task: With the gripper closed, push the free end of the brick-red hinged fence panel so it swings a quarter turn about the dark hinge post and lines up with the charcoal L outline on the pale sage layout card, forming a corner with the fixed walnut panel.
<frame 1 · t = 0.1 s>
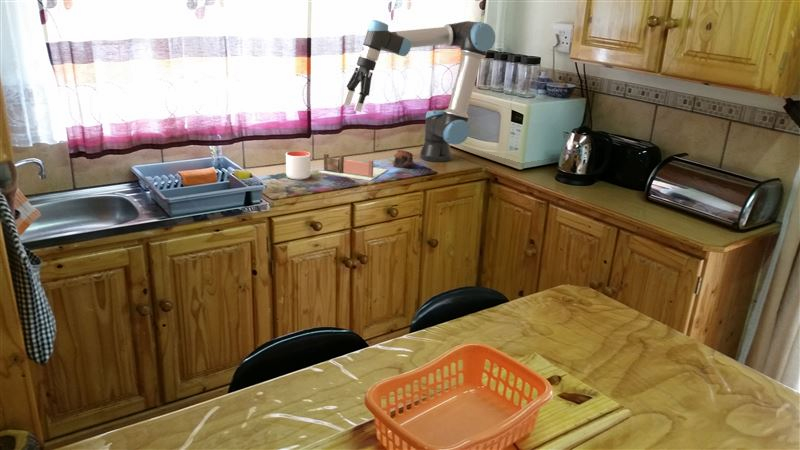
hand: (351, 108, 267), 28 cm above the kitchen counter, tool tilted 20°, fingers open, 13 cm apart
brown rock: (403, 166, 291), on the kitchen counter
cup: (298, 177, 266), on the kitchen counter
fence panel: (358, 166, 270), point 4 cm above the kitchen counter, hinge at 0.0°
layout card: (353, 171, 278), on the kitchen counter
fence fixed: (341, 173, 274), resting on layout card
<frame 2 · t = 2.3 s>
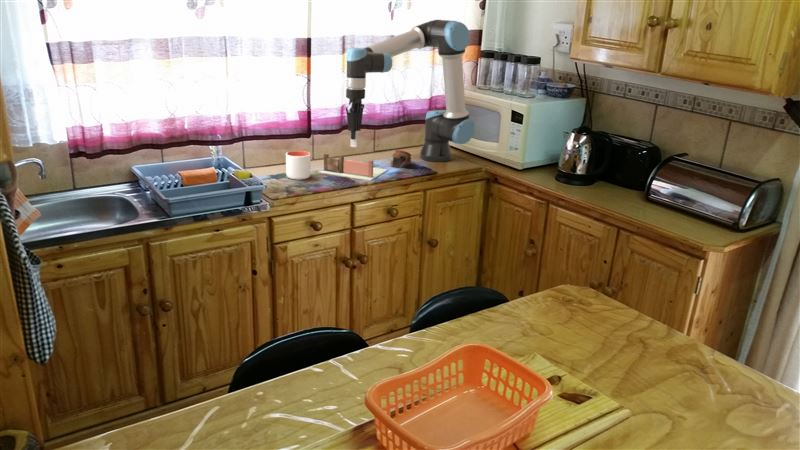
hand: (354, 146, 261), 14 cm above the kitchen counter, tool pointing down, fingers closed
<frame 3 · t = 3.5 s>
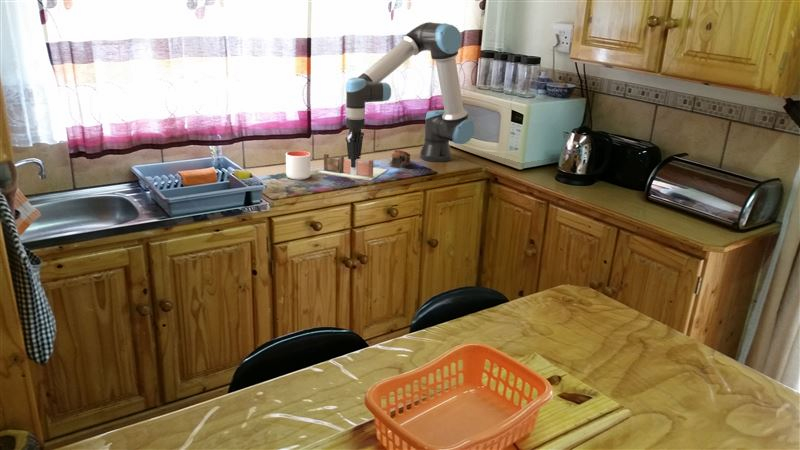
hand: (354, 174, 265), 2 cm above the kitchen counter, tool pointing down, fingers closed
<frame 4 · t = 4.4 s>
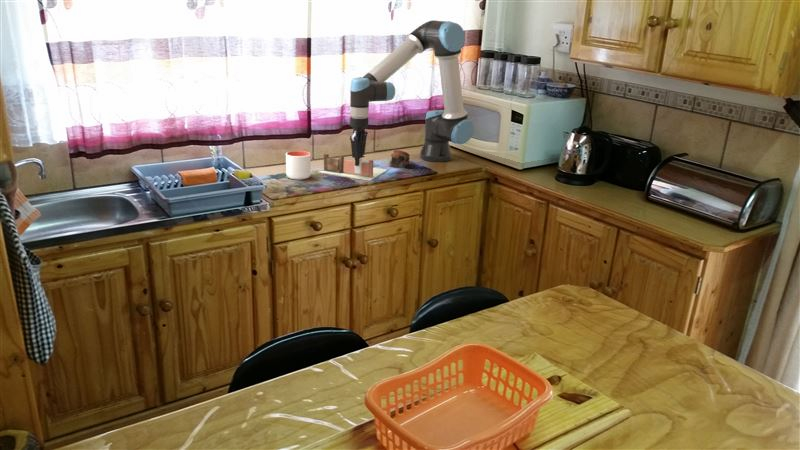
hand: (358, 172, 268), 2 cm above the kitchen counter, tool pointing down, fingers closed
fence panel: (358, 166, 270), point 4 cm above the kitchen counter, hinge at 0.0°, touching gripper
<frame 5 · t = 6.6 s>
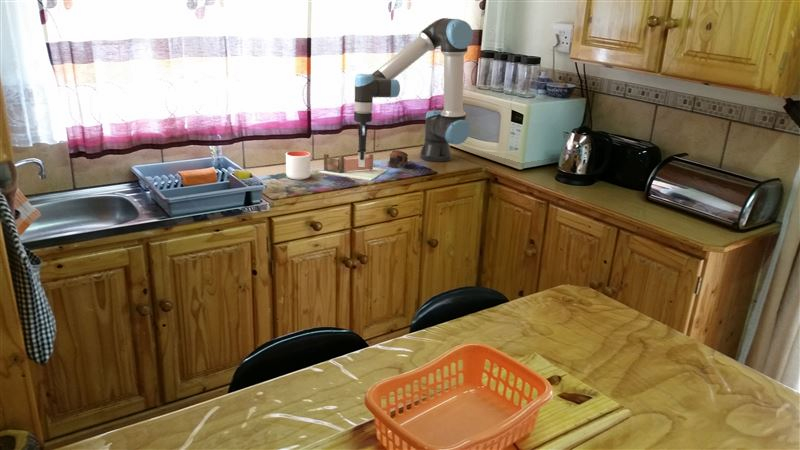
hand: (361, 166, 276), 3 cm above the kitchen counter, tool pointing down, fingers closed
fence panel: (358, 162, 276), point 4 cm above the kitchen counter, hinge at 47.7°, touching gripper
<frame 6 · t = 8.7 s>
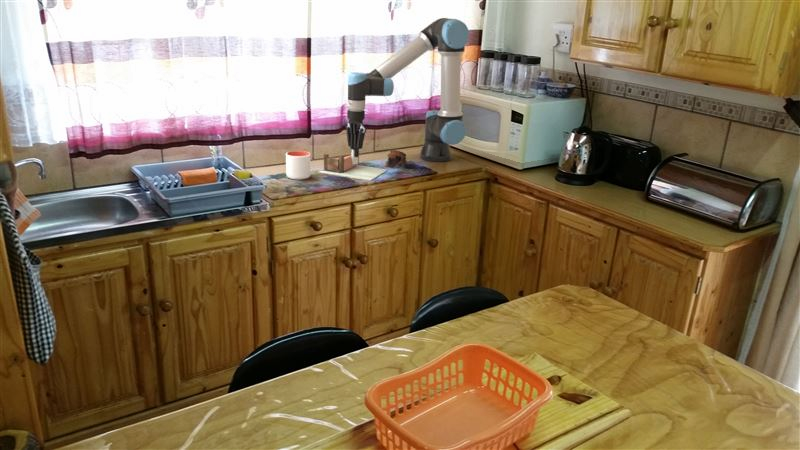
hand: (354, 163, 280), 3 cm above the kitchen counter, tool pointing down, fingers closed
fence panel: (350, 160, 280), point 4 cm above the kitchen counter, hinge at 86.4°, touching gripper
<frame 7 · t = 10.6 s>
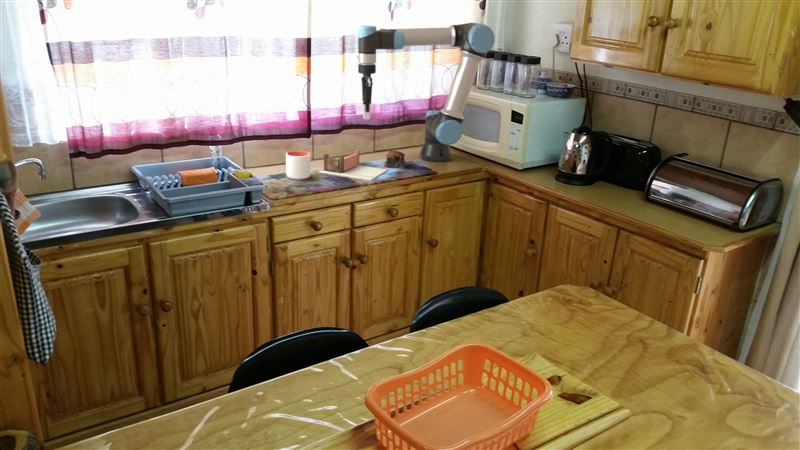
hand: (366, 118, 280), 22 cm above the kitchen counter, tool pointing down, fingers closed
fence panel: (350, 160, 280), point 4 cm above the kitchen counter, hinge at 85.5°
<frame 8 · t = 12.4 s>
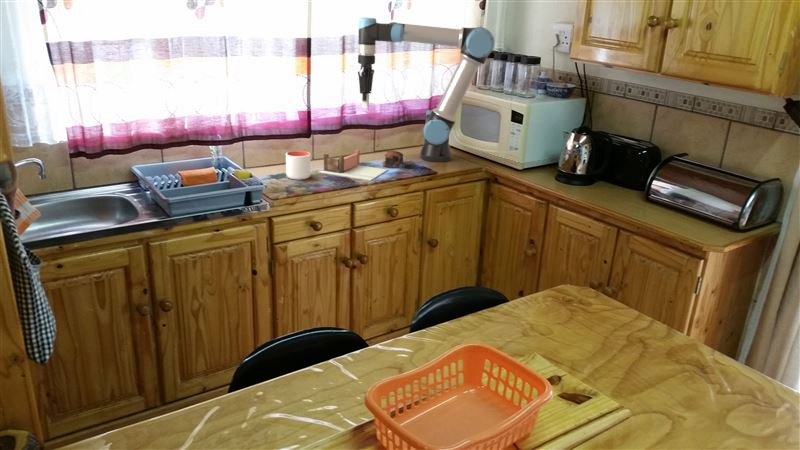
hand: (365, 108, 289), 24 cm above the kitchen counter, tool pointing down, fingers closed
at the end: fence panel at +86° (first picture: +0°) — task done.
